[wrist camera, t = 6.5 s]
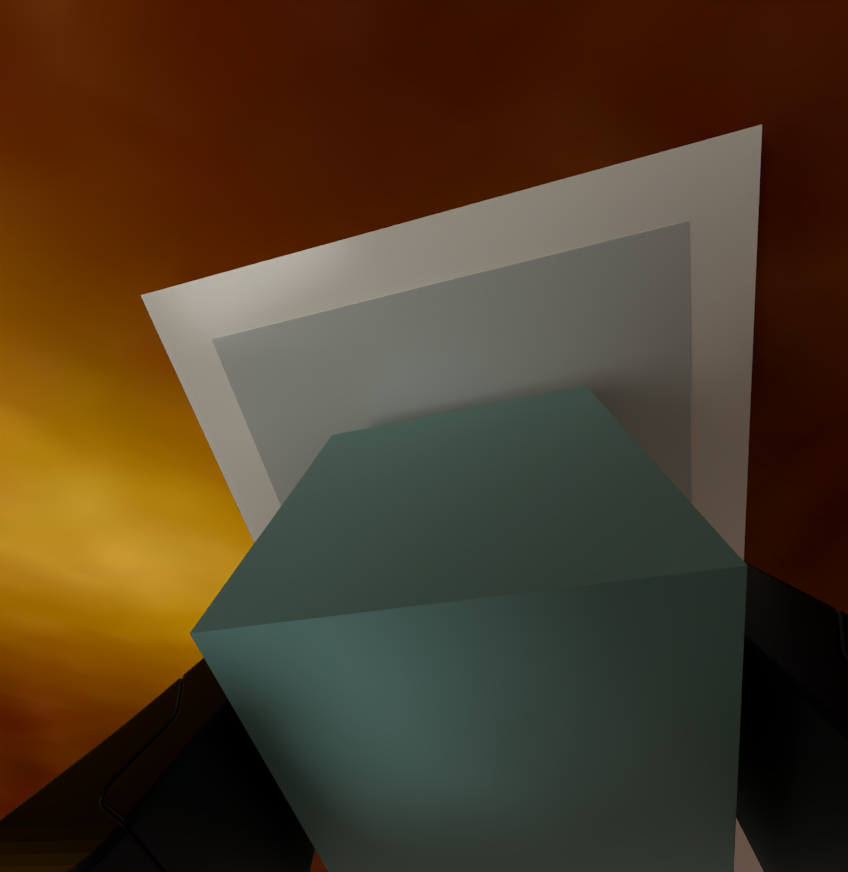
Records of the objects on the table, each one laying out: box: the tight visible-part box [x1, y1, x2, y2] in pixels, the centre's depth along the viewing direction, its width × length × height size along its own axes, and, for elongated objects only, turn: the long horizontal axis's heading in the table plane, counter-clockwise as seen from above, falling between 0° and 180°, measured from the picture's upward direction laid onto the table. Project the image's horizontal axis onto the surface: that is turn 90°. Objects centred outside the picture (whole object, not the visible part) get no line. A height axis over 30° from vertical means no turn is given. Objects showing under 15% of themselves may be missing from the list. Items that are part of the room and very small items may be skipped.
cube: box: [190, 385, 747, 872], centre depth 7 cm, size 5×5×5 cm
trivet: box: [141, 124, 762, 561], centre depth 11 cm, size 12×12×1 cm
